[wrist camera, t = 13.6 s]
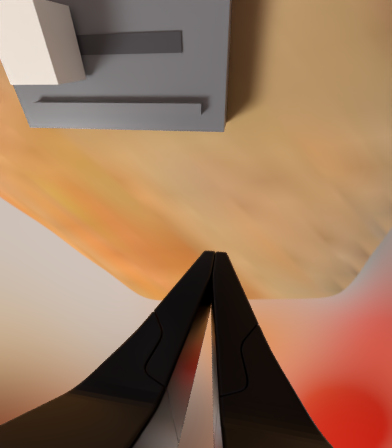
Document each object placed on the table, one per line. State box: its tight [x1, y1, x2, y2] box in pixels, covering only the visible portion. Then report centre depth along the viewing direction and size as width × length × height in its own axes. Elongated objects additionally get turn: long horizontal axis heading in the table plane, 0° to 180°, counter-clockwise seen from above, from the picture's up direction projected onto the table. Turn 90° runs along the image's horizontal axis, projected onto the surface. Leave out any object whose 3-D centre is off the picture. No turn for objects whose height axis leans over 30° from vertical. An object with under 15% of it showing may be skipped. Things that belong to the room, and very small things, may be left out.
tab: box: [0, 0, 86, 85], centre depth 14 cm, size 3×4×3 cm
